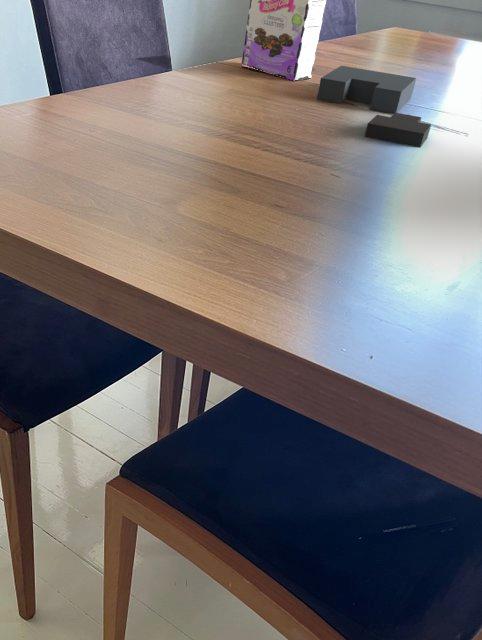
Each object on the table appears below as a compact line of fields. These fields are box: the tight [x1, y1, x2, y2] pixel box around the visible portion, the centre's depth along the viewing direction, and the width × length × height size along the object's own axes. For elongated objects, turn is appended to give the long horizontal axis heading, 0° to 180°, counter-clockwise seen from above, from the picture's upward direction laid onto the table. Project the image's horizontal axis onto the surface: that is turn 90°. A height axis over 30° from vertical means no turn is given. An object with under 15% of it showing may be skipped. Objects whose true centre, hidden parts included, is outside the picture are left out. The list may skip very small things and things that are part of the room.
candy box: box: [241, 0, 327, 82], centre depth 139 cm, size 14×6×16 cm, turn 43°
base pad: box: [316, 65, 417, 115], centre depth 131 cm, size 14×14×4 cm
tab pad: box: [364, 112, 432, 149], centre depth 108 cm, size 8×10×4 cm
